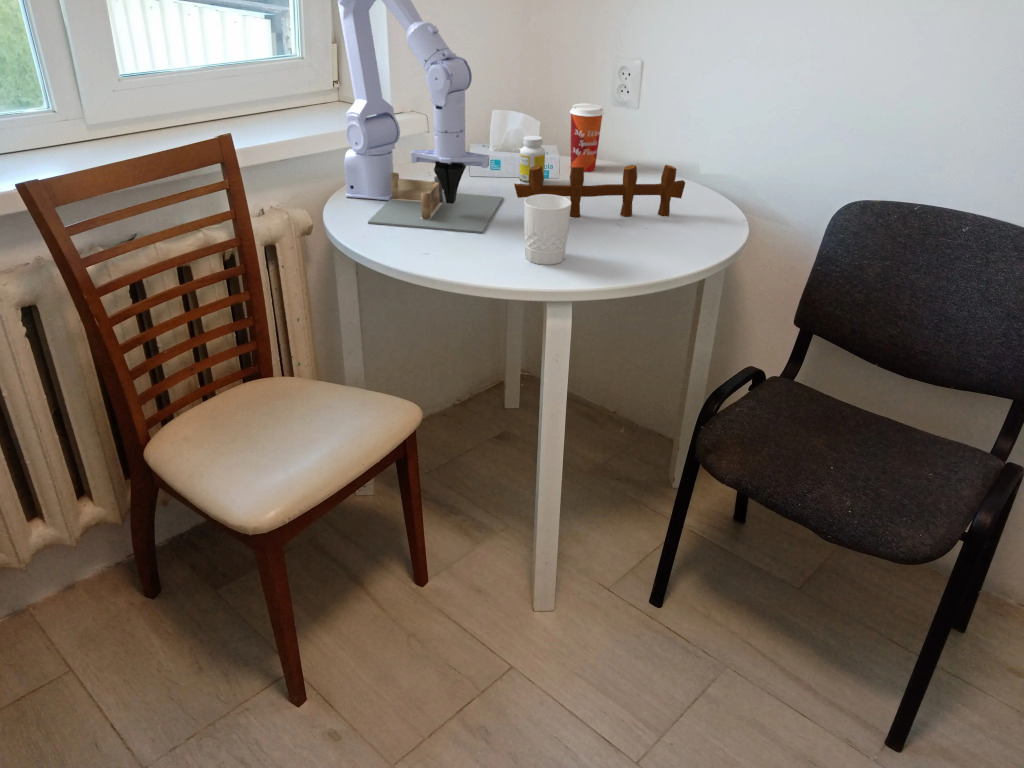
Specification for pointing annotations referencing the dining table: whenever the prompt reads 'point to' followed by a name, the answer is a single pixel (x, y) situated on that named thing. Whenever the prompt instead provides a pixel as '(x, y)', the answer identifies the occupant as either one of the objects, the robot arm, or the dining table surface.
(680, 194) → the fence
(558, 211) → the white cup
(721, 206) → the dining table surface
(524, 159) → the supplement bottle
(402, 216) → the board
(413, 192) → the fence base
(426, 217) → the fence gate
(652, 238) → the dining table surface
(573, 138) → the paper cup
